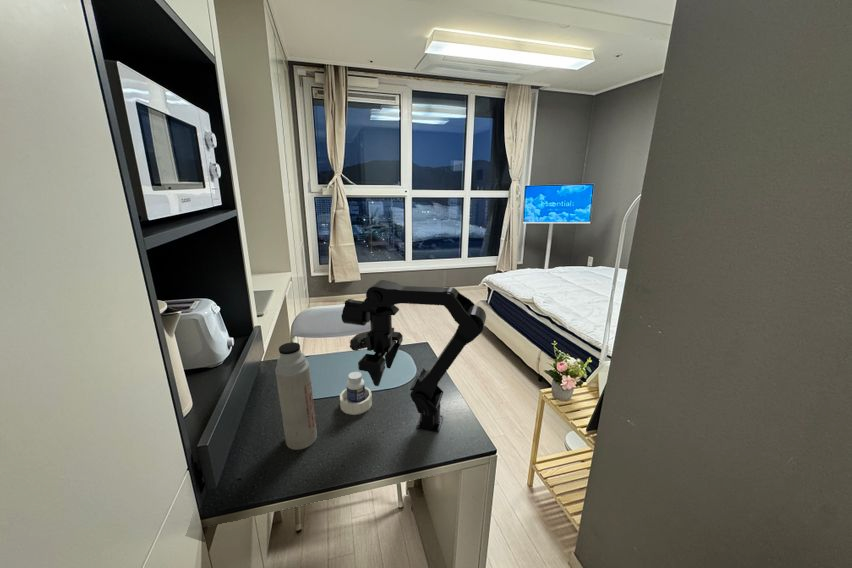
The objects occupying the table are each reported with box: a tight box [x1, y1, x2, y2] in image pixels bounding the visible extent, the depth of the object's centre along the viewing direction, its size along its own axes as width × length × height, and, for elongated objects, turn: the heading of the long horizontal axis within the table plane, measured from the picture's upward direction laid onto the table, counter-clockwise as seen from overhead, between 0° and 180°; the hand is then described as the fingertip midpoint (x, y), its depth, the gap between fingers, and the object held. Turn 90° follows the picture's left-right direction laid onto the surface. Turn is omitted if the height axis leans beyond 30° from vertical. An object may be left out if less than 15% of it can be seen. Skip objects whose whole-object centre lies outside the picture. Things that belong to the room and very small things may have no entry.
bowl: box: [339, 386, 373, 416], centre depth 107 cm, size 10×10×4 cm
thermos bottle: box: [274, 341, 318, 451], centre depth 90 cm, size 8×8×28 cm
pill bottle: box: [346, 371, 366, 403], centre depth 106 cm, size 5×5×10 cm
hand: (382, 376), depth 99 cm, fingers open, 9 cm apart
